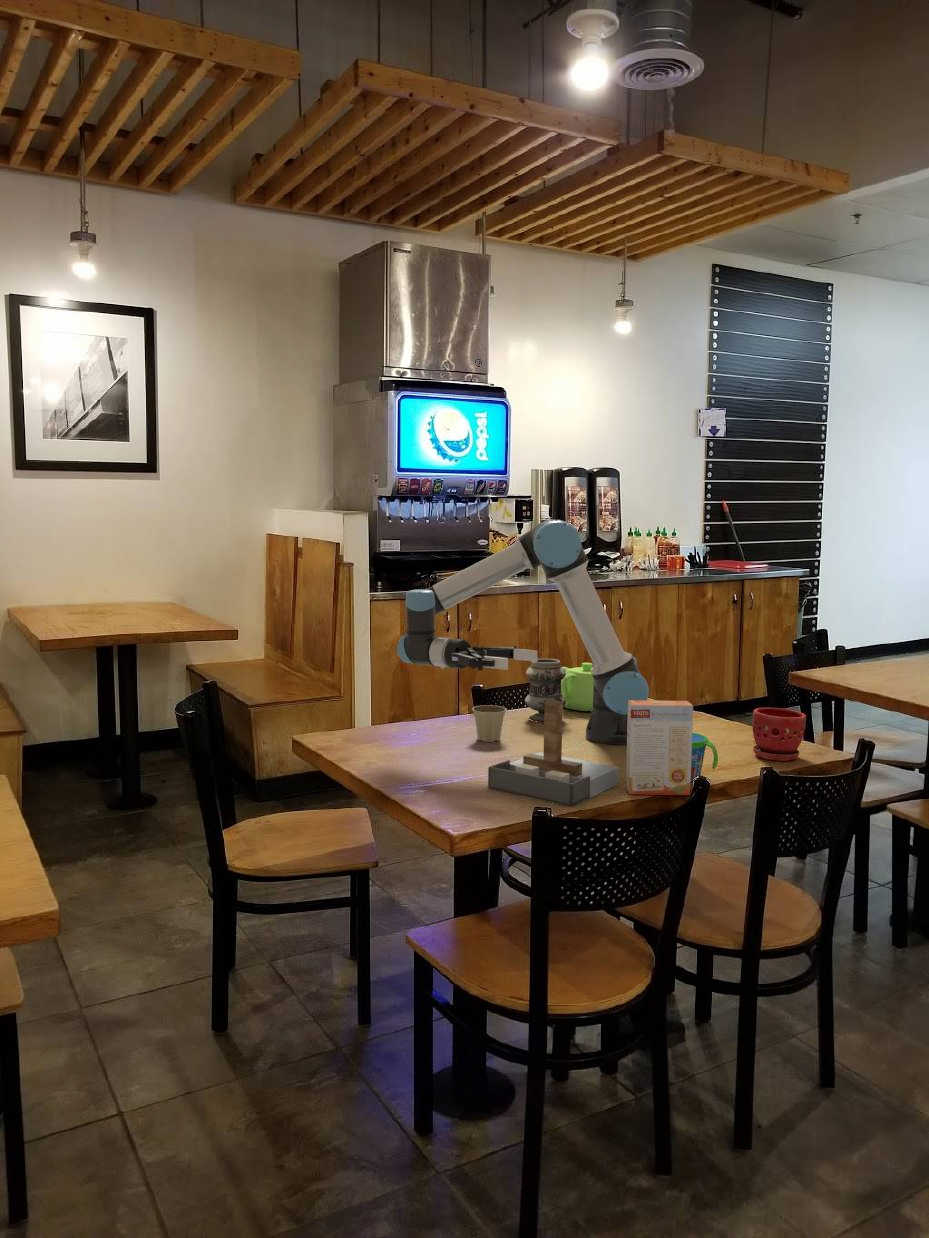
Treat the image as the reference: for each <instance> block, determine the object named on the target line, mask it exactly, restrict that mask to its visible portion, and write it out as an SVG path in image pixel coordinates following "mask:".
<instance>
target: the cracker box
mask: <svg viewBox="0 0 929 1238" xmlns="http://www.w3.org/2000/svg"><path fill="white" fill-rule="evenodd" d="M693 715H694V705H693V704H692V703H691V702H689V700H648V699H647V700H629V701H628V722H627V744H626V774H625V775H626V776H625V779H626V780H625V788H626V791H627V792H628V795H630V796H631V795H635V796H637V795H640V796H641V795H642V796H645V795H646V796H649V795H650V796H691V785H692V784H691V782H692V781H691V756H692V733H693V724H694V723H693Z"/></svg>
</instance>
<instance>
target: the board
mask: <svg viewBox="0 0 929 1238" xmlns="http://www.w3.org/2000/svg"><path fill="white" fill-rule="evenodd" d="M535 754H536V755H541V756H544V752H540V751H539V752H536V753H535ZM561 759H562V760H567V761H573V762H578V763H582V774H581V775H579V776H577V777H573V776H569V783H573V782H575V781H577V780H579V779H582V778H584V777H586V776H590V798H592V797H594V796H597V795H599V794H601V793H603V792H605V791H607V790H609V789H610V788H613V787H616V786H617V785H619V784H620V766H614V765H609V764H605V763H599V762H594V761H588V760H583V759H577V758H572V757H567V756H563V755H562V756H561ZM520 764H523V757H522V758H520V759H518V760H515V761H512V762H510V771H514V772H515V770H516V766H518V765H520ZM547 772H548V771H543V770H539V777H543V778H545V773H547ZM590 798H589V799H590Z"/></svg>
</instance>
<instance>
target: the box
mask: <svg viewBox="0 0 929 1238" xmlns="http://www.w3.org/2000/svg"><path fill="white" fill-rule="evenodd" d="M510 763H511V760H510V759H507V760H503V761H501V762H498V763H496V764H493V765H490V766H488V768H487V769H488V772H487V778H488V779H487V787H488V788H487V789H489V790H494V791H498V792H502V791H503V793H507V794H508V793H509V794H511V793H512V794H511V795H515V796H520V797H521V796H522V797H525V798H531V799H535V800H539V801H543V800H544V801H545V802H549V803H552V802H554V804H557V803H558V805H561V804H562V805H561V806H567V807H574V806H577V805H579V804H580V803H583V802H584V800H585V801H587V800H588V799H590V776H586V777H584V778H582V779H579V780H577V781H575V782H573V783H568V782H563V781H558V780H553V779H548V778H543V777H539V776H534V775H529V774H524V773H519V772H514V771H510ZM582 801H583V802H582Z"/></svg>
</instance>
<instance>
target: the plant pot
mask: <svg viewBox="0 0 929 1238" xmlns="http://www.w3.org/2000/svg"><path fill="white" fill-rule="evenodd" d="M751 722H752V723H751V724H752V725H751V726H752V735H753V739H754V741H755V744H756V745H754V746H753V747H752V751H753V752H754V754H755V755H756V756H758V757H760V758H762V759H763V760H771V761H781V762H784V761H785V762H787V761H791V760H795V759H797V758H798V757H799V755H800V750H798V748H799V747H800V746H801V743H802V742H803V738H804V734H805V729H806V723H807V715H806V714H805V713H803V712H800V711H797V710H793V709H792V710H791V709H787V708H779V707H757V708H755V709H754V710H753V712H752V721H751ZM766 726H767V728H768V729H766ZM787 729H788V731H787Z"/></svg>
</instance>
